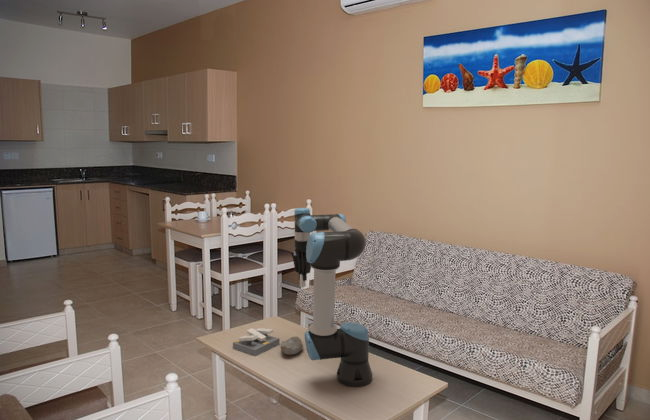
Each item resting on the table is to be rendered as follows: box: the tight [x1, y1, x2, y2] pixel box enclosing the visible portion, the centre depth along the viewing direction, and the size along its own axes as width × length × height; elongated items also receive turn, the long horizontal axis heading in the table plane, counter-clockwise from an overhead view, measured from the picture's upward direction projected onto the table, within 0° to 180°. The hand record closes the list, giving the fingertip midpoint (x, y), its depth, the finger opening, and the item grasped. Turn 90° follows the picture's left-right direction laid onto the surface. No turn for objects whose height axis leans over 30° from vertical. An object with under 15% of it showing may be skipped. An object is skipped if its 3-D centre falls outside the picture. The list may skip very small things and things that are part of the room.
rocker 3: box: [255, 327, 275, 335], centre depth 246 cm, size 10×4×2 cm, turn 54°
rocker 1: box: [237, 335, 258, 341], centre depth 237 cm, size 10×4×2 cm, turn 54°
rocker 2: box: [246, 327, 266, 341], centre depth 241 cm, size 10×4×2 cm, turn 54°
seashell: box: [280, 336, 304, 356], centre depth 235 cm, size 9×12×15 cm
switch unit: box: [232, 334, 280, 357], centre depth 242 cm, size 15×17×5 cm
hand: (302, 286), depth 244 cm, fingers closed
